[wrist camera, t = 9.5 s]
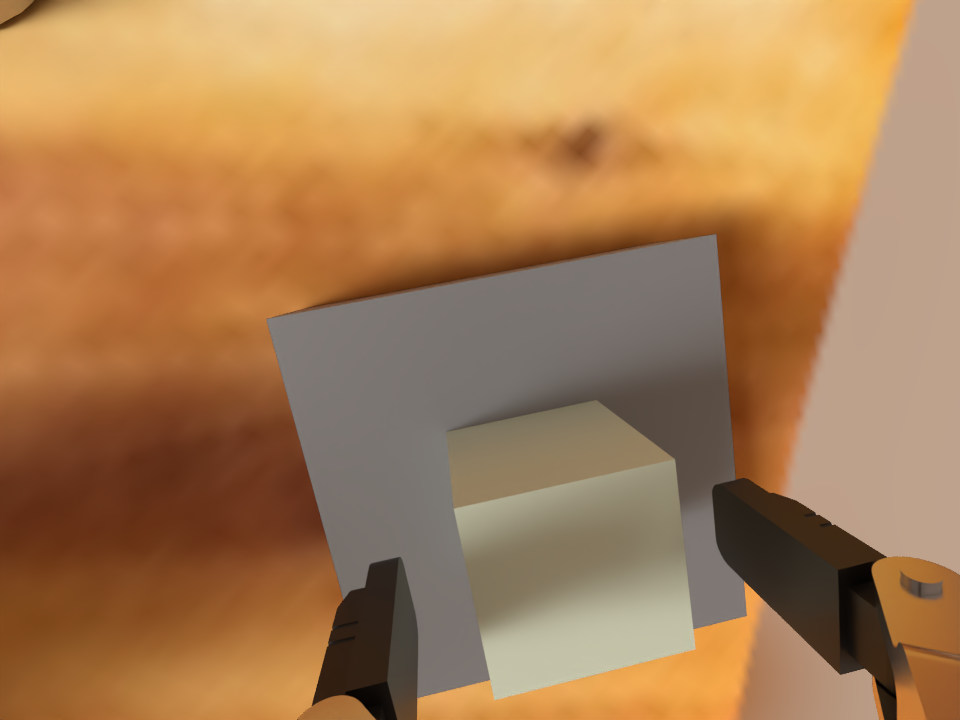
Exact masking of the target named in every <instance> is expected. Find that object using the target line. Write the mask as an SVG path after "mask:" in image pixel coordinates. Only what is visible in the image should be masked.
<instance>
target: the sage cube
mask: <svg viewBox="0 0 960 720" xmlns="http://www.w3.org/2000/svg"><path fill="white" fill-rule="evenodd" d="M446 437H447V447H448V457H449V467H450V477H451V487H452V497H453V507H454V513H455V517H456V522H457V527H458V531H459V536H460V541H461V545H462V550H463V555H464V559H465V564H466V569H467V573H468V578H469V583H470V587H471V592H472V597H473V602H474V606H475V611H476V616H477V620H478V625H479V630H480V634H481V639H482V644H483V648H484V653H485V658H486V662H487V667H488V672H489V677H490V681H491V686H492V691H493V695H494V700H497V699H501V698H505V697H509V696H513V695H517V694H521V693H525V692H529V691H532V690H536V689H540V688H544V687H548V686H552V685H556V684H560V683H564V682H568V681H572V680H576V679H580V678H584V677H588V676H592V675H596V674H599V673H603V672H607V671H611V670H615V669H619V668H623V667H627V666H631V665H635V664H639V663H643V662H647V661H651V660H655V659H659V658H663V657H667V656H670V655H674V654H678V653H682V652H686V651H690V650H694V649H695V640H694V631H693V622H692V612H691V603H690V594H689V585H688V575H687V566H686V557H685V548H684V538H683V529H682V520H681V511H680V501H679V492H678V483H677V473H676V464H675V459H674V458H673V457H671V456H670V455H669V454H667V453H666V452H665V451H663V450H662V449H661V448H659V447H658V446H657V445H655V444H654V443H653V442H651V441H650V440H649V439H647V438H646V437H645V436H643V435H642V434H641V433H640V432H638V431H637V430H636V429H634V428H633V427H632V426H630V425H629V424H628V423H626V422H625V421H624V420H622V419H621V418H620V417H618V416H617V415H616V414H614V413H613V412H612V411H610V410H609V409H608V408H606V407H605V406H604V405H602V404H601V403H600V402H598V401H597V400H594V401H589V402H585V403H580V404H575V405H570V406H566V407H561V408H556V409H552V410H547V411H542V412H537V413H533V414H528V415H523V416H519V417H514V418H509V419H504V420H500V421H495V422H490V423H486V424H481V425H476V426H471V427H467V428H462V429H457V430H453V431H448V432H446Z"/></svg>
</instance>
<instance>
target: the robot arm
mask: <svg viewBox="0 0 960 720" xmlns="http://www.w3.org/2000/svg"><path fill="white" fill-rule="evenodd" d="M33 1H34V0H0V24H1V23H3V22H5V21H7V20H9V19H10V18H12V17H14V16H16V15H18V14H20V13H21V12H23V11H24V10H25V9H26V8H27V7H28V6H29V5H30V4H31V3H32V2H33ZM712 500H713V512H714V524H715V535H716V542H717V546H718V549H719V551H720V554H721V556H722V557H723V559H724V561H725V562H726V563H727V564H728V566H729V567H730V568H731V569H732V570H733V571H735V572H736V573H737V574H738V575H739V576H740V577H741V578H742V579H743V580H744V581H745V582H746V583H747V584H748V585H749V586H750V587H751V588H752V589H753V590H754V591H755V592H756V593H757V594H758V595H759V596H760V597H761V598H762V599H763V600H764V601H765V602H766V603H767V604H768V605H769V606H770V607H771V608H772V609H773V610H774V611H776V612H777V613H778V614H779V615H780V616H781V617H782V618H783V619H784V620H785V621H786V622H787V623H788V624H789V625H790V626H791V627H792V628H793V629H794V630H795V631H796V632H797V633H798V634H799V635H800V636H801V637H802V638H803V639H804V640H805V641H806V642H807V643H808V644H809V645H810V646H811V647H812V648H813V649H814V650H815V651H817V652H818V653H819V654H820V655H821V656H822V657H823V658H824V659H825V660H826V661H827V662H828V663H829V664H830V665H831V666H832V667H833V668H834V669H835V670H836V671H837V672H838V673H839V674H840V675H842V674H846V673H849V672H853V671H857V670H860V669H864V668H865V669H866V670H867V671H868V672H869V673H870V674H872V685H873V686H872V687H873V694H874V699H875V703H876V708H877V712H878V717H879V720H960V575H959V574H957V573H956V572H954V571H952V570H950V569H948V568H946V567H943V566H941V565H939V564H936V563H933V562H930V561H926V560H922V559H917V558H911V557H886V556H884V555H883V554H881V553H879V552H878V551H876V550H875V549H873V548H871V547H870V546H868V545H867V544H865V543H863V542H862V541H860V540H859V539H857V538H855V537H854V536H852V535H850V534H849V533H847V532H846V531H844V530H842V529H841V528H839V527H838V526H836V525H832V524H831V522H830V521H828V520H826V519H825V518H823V517H822V516H820V515H816V514H815V512H814V511H812V510H810V509H809V508H807V507H806V506H804V505H802V504H801V503H799V502H797V501H795V500H793V499H790V498H787V497H784V496H781V495H778V494H775V493H768V492H767V491H765V490H764V489H762V488H761V487H759V486H758V485H756V484H755V483H753V482H751V481H750V480H748V479H746V478H742V479H737V480H733V481H729V482H724V483H720V484H716V485H714V487H713V489H712ZM332 628H333V631H331V634H330V638H329V642H328V643H329V646H328V647H327V650H326V653H325V657H324V661H323V665H322V669H321V672H320V676H319V680H318V684H317V688H316V692H315V695H314V699H313V703H312V707H310V708H309V709H307V710H306V711H305V712H304V713H303V714H302V715H301V716H300V717H299V718H298V719H297V720H417V684H418V627H417V619H416V613H415V609H414V605H413V601H412V596H411V592H410V588H409V584H408V580H407V576H406V572H405V568H404V564H403V561H402V558H401V557H396V558H392V559H387V560H383V561H379V562H374V563H371V564H370V565H369V569H368V574H367V579H366V585H365V588H360V589H356V590H352V591H350V592H349V593H348V595H347V596H346V597H345V599H344V600H343V601H342V603H341V604H340V606H339V607H338V608H337V611H336V615H335V619H334V623H333V627H332Z"/></svg>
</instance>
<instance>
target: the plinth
mask: <svg viewBox="0 0 960 720" xmlns="http://www.w3.org/2000/svg"><path fill="white" fill-rule="evenodd" d="M266 320H267V323H268V327H269V330H270V334H271V338H272V341H273V345H274V349H275V352H276V356H277V360H278V363H279V367H280V370H281V374H282V378H283V381H284V385H285V389H286V392H287V396H288V400H289V403H290V407H291V411H292V414H293V418H294V421H295V425H296V429H297V432H298V436H299V440H300V443H301V447H302V451H303V454H304V458H305V461H306V465H307V469H308V472H309V476H310V480H311V483H312V487H313V491H314V494H315V498H316V502H317V505H318V509H319V512H320V516H321V520H322V523H323V527H324V531H325V534H326V538H327V542H328V545H329V549H330V552H331V556H332V560H333V563H334V567H335V571H336V574H337V578H338V582H339V585H340V589H341V592H342V596H343V600H344V599H345V597H346V596H347V595H348V593H349V592H350V591H352V590H356V589H360V588H365V585H366V579H367V574H368V569H369V565H370V564H371V563H374V562H379V561H383V560H387V559H392V558H396V557H401V558H402V561H403V564H404V568H405V572H406V576H407V580H408V584H409V588H410V592H411V596H412V601H413V605H414V609H415V613H416V619H417V627H418V684H417V698H419V697H423V696H427V695H431V694H435V693H439V692H443V691H447V690H452V689H456V688H460V687H464V686H468V685H472V684H476V683H480V682H484V681H488V680H490V677H489V672H488V667H487V662H486V658H485V653H484V648H483V644H482V639H481V634H480V630H479V625H478V620H477V616H476V611H475V606H474V602H473V597H472V592H471V587H470V583H469V578H468V573H467V569H466V564H465V559H464V555H463V550H462V545H461V541H460V536H459V531H458V527H457V522H456V517H455V513H454V507H453V497H452V487H451V477H450V467H449V457H448V447H447V437H446V432H448V431H453V430H457V429H462V428H467V427H471V426H476V425H481V424H486V423H490V422H495V421H500V420H504V419H509V418H514V417H519V416H523V415H528V414H533V413H537V412H542V411H547V410H552V409H556V408H561V407H566V406H570V405H575V404H580V403H585V402H589V401H594V400H597V401H598V402H600V403H601V404H602V405H604V406H605V407H606V408H608V409H609V410H610V411H612V412H613V413H614V414H616V415H617V416H618V417H620V418H621V419H622V420H624V421H625V422H626V423H628V424H629V425H630V426H632V427H633V428H634V429H636V430H637V431H638V432H640V433H641V434H642V435H643V436H645V437H646V438H647V439H649V440H650V441H651V442H653V443H654V444H655V445H657V446H658V447H659V448H661V449H662V450H663V451H665V452H666V453H667V454H669V455H670V456H671V457H673V458H674V459H675V464H676V473H677V483H678V492H679V501H680V511H681V520H682V529H683V538H684V548H685V557H686V566H687V575H688V585H689V594H690V603H691V612H692V622H693V629H696V628H700V627H704V626H708V625H712V624H716V623H720V622H724V621H728V620H732V619H736V618H740V617H744V616H747V614H746V601H745V589H744V580H743V579H742V578H741V577H740V576H739V575H738V574H737V573H736V572H735V571H733V570H732V569H731V568H730V567H729V566H728V564H727V563H726V562H725V561H724V559H723V557H722V556H721V554H720V551H719V549H718V546H717V542H716V535H715V524H714V512H713V500H712V489H713V487H714V485H716V484H720V483H724V482H729V481H733V480H736V476H735V463H734V451H733V438H732V425H731V413H730V400H729V388H728V375H727V363H726V350H725V338H724V325H723V312H722V300H721V287H720V275H719V262H718V250H717V237H716V234H713V235H706V236H699V237H692V238H685V239H678V240H671V241H663V242H656V243H651V244H646V245H640V246H635V247H630V248H624V249H619V250H614V251H609V252H603V253H598V254H593V255H587V256H582V257H577V258H571V259H566V260H561V261H555V262H550V263H545V264H539V265H534V266H529V267H524V268H518V269H513V270H508V271H502V272H497V273H492V274H486V275H481V276H476V277H470V278H465V279H460V280H455V281H449V282H444V283H439V284H433V285H428V286H423V287H417V288H412V289H407V290H401V291H396V292H391V293H386V294H380V295H375V296H370V297H364V298H359V299H354V300H348V301H343V302H338V303H332V304H327V305H322V306H317V307H311V308H306V309H301V310H298V311H294V312H290V313H287V314H283V315H279V316H276V317H272V318H268V319H266Z"/></svg>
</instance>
